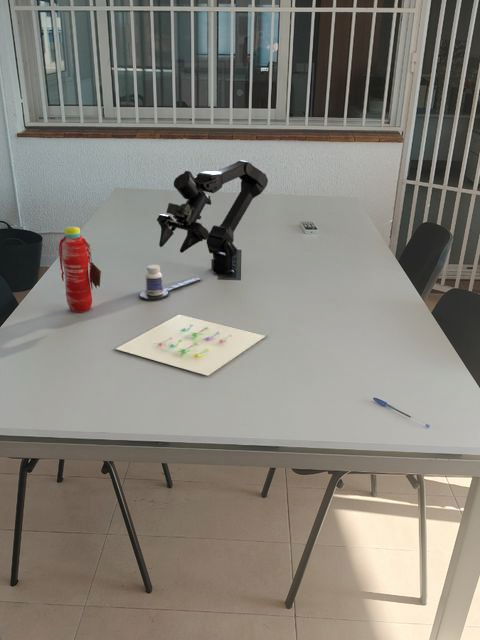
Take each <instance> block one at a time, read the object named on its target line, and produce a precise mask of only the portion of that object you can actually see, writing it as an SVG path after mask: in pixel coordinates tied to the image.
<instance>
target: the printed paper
mask: <svg viewBox="0 0 480 640" xmlns="http://www.w3.org/2000/svg"><path fill="white" fill-rule="evenodd" d="M265 337H266V335H265V334H260V333H255V332H252V331H247V330H243V329H240V328H239V329H238V328H235V327H231V326H228V325H224V324H219V323H216V322H211V321H207V320H204V319H201V318H195V317H191V316H188V315H183V314H177V315H175V316H173V317H171V318H169V319H168V320H166V321H164V322H162V323H161V324H158V325H156V326H155V327H153V328H151V329H150V330H147V331H145V332H144V333H142V334H140V335H138V336H136V337H135V338H132V339H130V340H128V341H126V342H125V343H123V344H121V345H120V346H118V347H116V348H115V350H118V351H121V352H125V353H127V354H132V355H135V356H138V357H142V358H145V359H148V360H152V361H155V362H159V363H162V364H166V365H168V366H169V365H170V366H173V367H176V368H180V369H184V370H187V371H190V372H193V373H197V374H200V375H204V376H207V377H208V376H210V375H211V374H213V373H214V372H216V371H217V370H219V369H220V368H222V367H224V365H226V364H228V363H229V362H231V361H232V360H233V359H235V358H237V356H239V355H240V354H242V353H244V352H245V351H246V350H248V349H249V348H251V347H252V346H254V345H255V344H256V343H258V342H260V341H261V340H262V339H264V338H265Z"/></svg>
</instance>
